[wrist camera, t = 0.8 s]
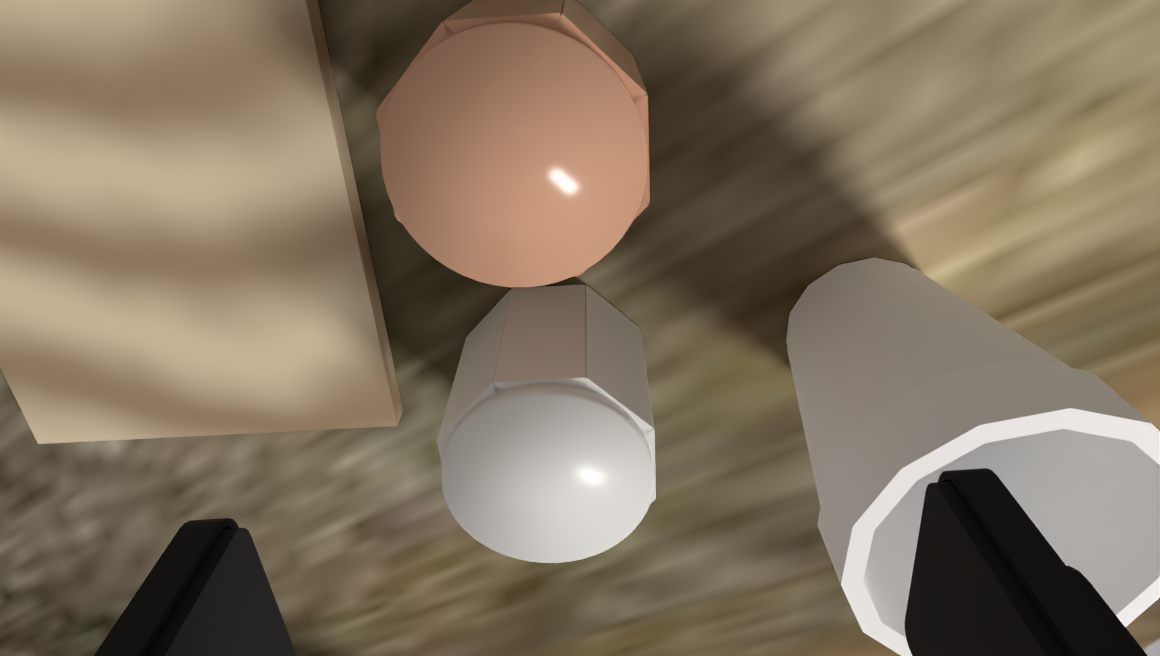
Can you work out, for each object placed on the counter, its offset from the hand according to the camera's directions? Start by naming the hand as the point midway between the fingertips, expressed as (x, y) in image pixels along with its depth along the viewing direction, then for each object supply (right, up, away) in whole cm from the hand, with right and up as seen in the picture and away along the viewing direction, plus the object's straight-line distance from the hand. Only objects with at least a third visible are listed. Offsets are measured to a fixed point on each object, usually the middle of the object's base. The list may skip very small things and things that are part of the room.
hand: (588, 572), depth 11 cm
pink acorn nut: (-2, +12, +17) cm, 21 cm away
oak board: (-17, +7, +19) cm, 26 cm away
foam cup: (+12, +4, +21) cm, 25 cm away
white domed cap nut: (-1, +2, +22) cm, 22 cm away
